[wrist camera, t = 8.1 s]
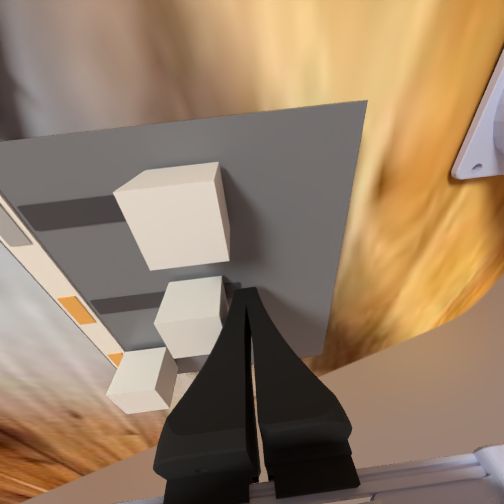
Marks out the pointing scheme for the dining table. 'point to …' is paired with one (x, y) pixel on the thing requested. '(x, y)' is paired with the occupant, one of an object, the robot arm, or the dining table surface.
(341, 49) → the dining table surface
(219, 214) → the near tab
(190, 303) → the middle tab
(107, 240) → the panel
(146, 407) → the far tab
